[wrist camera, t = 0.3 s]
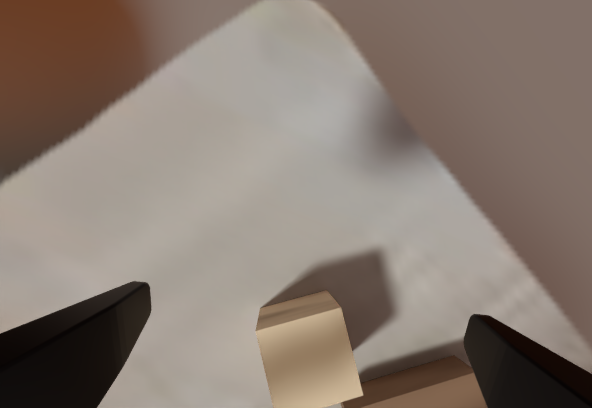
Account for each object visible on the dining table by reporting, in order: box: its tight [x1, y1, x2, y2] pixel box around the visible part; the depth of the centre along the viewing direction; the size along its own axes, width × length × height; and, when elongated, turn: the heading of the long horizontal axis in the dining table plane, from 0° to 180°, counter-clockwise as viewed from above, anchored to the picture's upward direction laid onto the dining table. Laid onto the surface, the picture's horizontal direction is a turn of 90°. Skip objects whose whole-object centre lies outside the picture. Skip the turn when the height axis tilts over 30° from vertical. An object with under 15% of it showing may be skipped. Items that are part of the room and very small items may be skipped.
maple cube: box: [256, 290, 363, 408], centre depth 19 cm, size 5×5×5 cm
